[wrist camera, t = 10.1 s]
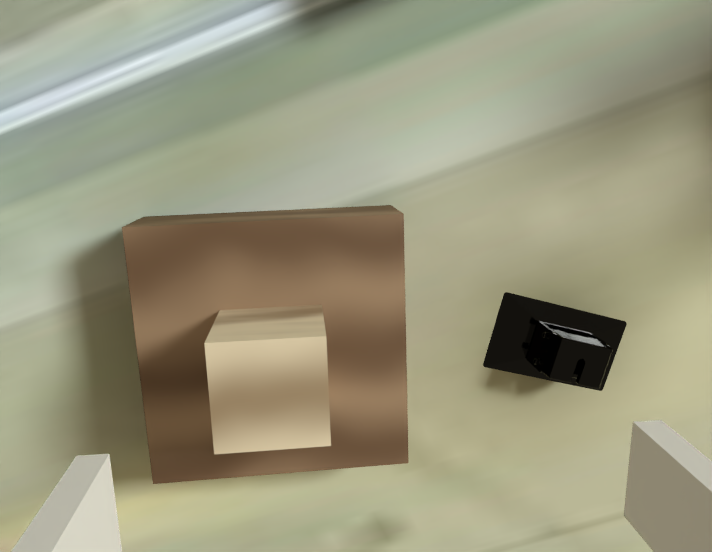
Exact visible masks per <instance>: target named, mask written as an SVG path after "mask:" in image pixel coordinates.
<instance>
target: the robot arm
mask: <svg viewBox="0 0 712 552" xmlns="http://www.w3.org/2000/svg"><path fill="white" fill-rule="evenodd" d="M624 516H625V518H626V519H627V520H628V521H629V522H630V524H631V525H632V526H633V527H634V529H635V530H636V531H637V532H638V533H639V535H640V536H641V537H642V538H643V539H644V541H645V542H646V543H647V544H648V545H649V547H650V548H651V549H652V550H653V551H654V552H712V461H711V460H710V459H709V458H707V457H706V456H705V455H704V454H702V453H701V452H700V451H699V450H698V449H696V448H695V447H694V446H693V445H691V444H690V443H689V442H688V441H686V440H685V439H684V438H683V437H682V436H680V435H679V434H678V433H677V432H675V431H674V430H673V429H672V428H670V427H669V426H668V425H667V424H666V423H664V422H663V421H662V420H655V421H638V422H633V427H632V437H631V447H630V457H629V467H628V478H627V488H626V498H625V508H624ZM11 552H122V548H121V540H120V532H119V525H118V517H117V509H116V501H115V494H114V486H113V478H112V470H111V462H110V455H109V454H96V455H79V456H76V457H75V459H74V460H73V461H72V463H71V464H70V466H69V467H68V469H67V470H66V472H65V473H64V475H63V476H62V478H61V479H60V481H59V482H58V483H57V485H56V486H55V488H54V489H53V491H52V492H51V494H50V495H49V497H48V498H47V500H46V501H45V503H44V504H43V505H42V507H41V508H40V510H39V511H38V513H37V514H36V516H35V517H34V519H33V520H32V522H31V523H30V524H29V526H28V527H27V529H26V530H25V532H24V533H23V535H22V536H21V538H20V539H19V541H18V542H17V544H16V545H15V546H14V548H13V549H12V551H11Z"/></svg>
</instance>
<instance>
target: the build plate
mask: <svg viewBox="0 0 712 552" xmlns="http://www.w3.org/2000/svg"><path fill="white" fill-rule="evenodd" d="M625 327H626V322H625V321H621V320H617V319H613V318H609V317H605V316H601V315H597V314H593V313H589V312H585V311H581V310H576V309H572V308H568V307H564V306H560V305H556V304H552V303H548V302H544V301H540V300H536V299H532V298H528V297H524V296H519V295H515V294H511V293H505V294H504V296H503V299H502V302H501V306H500V309H499V313H498V316H497V319H496V323H495V326H494V329H493V333H492V336H491V340H490V343H489V346H488V350H487V353H486V356H485V360H484V363H483V366H484V367H487V368H492V369H497V370H502V371H507V372H512V373H517V374H522V375H526V376H531V377H536V378H541V379H546V380H551V381H556V382H561V383H565V384H570V385H575V386H580V387H585V388H590V389H595V390H599V391H601V390H602V389H603V387H604V385H605V382H606V379H607V376H608V374H609V371H610V368H611V365H612V363H613V360H614V357H615V354H616V352H617V349H618V346H619V343H620V341H621V338H622V335H623V332H624V330H625Z"/></svg>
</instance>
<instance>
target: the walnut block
mask: <svg viewBox="0 0 712 552" xmlns="http://www.w3.org/2000/svg"><path fill="white" fill-rule="evenodd" d="M122 232H123V240H124V248H125V256H126V265H127V273H128V281H129V289H130V298H131V306H132V314H133V322H134V330H135V339H136V347H137V355H138V363H139V372H140V380H141V388H142V396H143V405H144V413H145V421H146V429H147V437H148V446H149V454H150V462H151V470H152V479H153V484H157V483H169V482H182V481H194V480H206V479H218V478H231V477H243V476H255V475H267V474H280V473H292V472H304V471H316V470H329V469H341V468H353V467H365V466H378V465H390V464H402V463H408V418H407V367H406V317H405V266H404V216H403V213H401V212H400V211H398V210H397V209H396V208H394V207H393V206H391V205H386V206H364V207H343V208H321V209H300V210H278V211H257V212H236V213H214V214H193V215H171V216H150V217H142V218H140V219H138V220H136V221H134V222H132V223H130V224H128V225H126V226H124V227H122ZM309 305H322V309H323V316H324V323H325V330H326V339H327V362H328V386H329V409H330V432H331V446H324V447H310V448H296V449H283V450H269V451H255V452H241V453H228V454H214V446H213V435H212V423H211V412H210V401H209V390H208V379H207V367H206V356H205V345H204V343H205V341H206V339H207V336H208V334H209V332H210V330H211V328H212V326H213V324H214V321H215V319H216V317H217V315H218V313H219V311H220V310H235V309H253V308H272V307H291V306H309Z"/></svg>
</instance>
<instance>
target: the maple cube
mask: <svg viewBox="0 0 712 552" xmlns="http://www.w3.org/2000/svg"><path fill="white" fill-rule="evenodd" d="M204 345H205V356H206V367H207V379H208V390H209V401H210V412H211V423H212V435H213V446H214V454H228V453H241V452H255V451H269V450H283V449H296V448H310V447H324V446H331V432H330V409H329V386H328V362H327V339H326V330H325V323H324V316H323V309H322V305H309V306H291V307H272V308H253V309H235V310H220V311H219V313H218V315H217V317H216V319H215V321H214V324H213V326H212V328H211V330H210V332H209V334H208V336H207V339H206V341H205V343H204Z"/></svg>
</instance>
